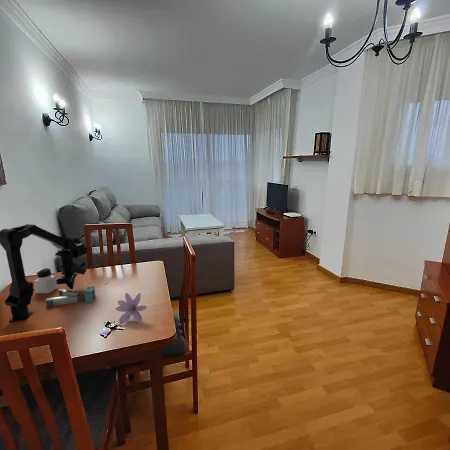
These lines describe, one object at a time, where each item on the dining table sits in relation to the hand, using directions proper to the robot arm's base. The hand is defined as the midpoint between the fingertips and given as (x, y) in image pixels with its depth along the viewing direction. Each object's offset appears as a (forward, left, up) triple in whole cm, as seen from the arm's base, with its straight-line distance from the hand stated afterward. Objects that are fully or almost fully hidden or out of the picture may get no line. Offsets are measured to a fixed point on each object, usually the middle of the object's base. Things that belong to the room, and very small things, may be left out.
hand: (72, 289), depth 137 cm
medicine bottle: (+5, +14, -2) cm, 15 cm away
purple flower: (-34, -34, -2) cm, 48 cm away
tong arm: (-6, -1, -1) cm, 6 cm away
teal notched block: (-12, -12, -1) cm, 17 cm away
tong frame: (-12, -1, -2) cm, 12 cm away
